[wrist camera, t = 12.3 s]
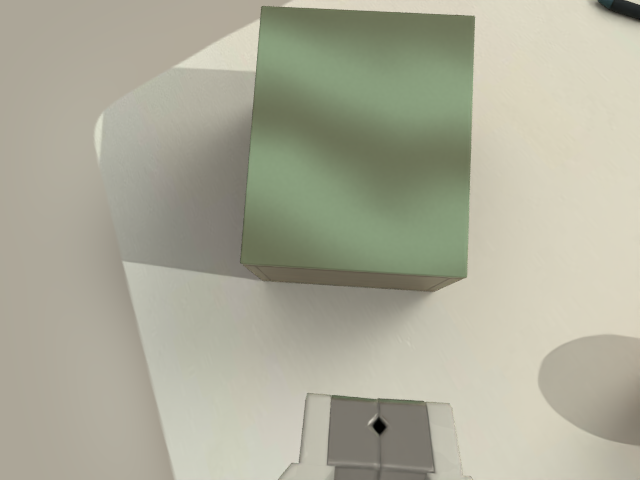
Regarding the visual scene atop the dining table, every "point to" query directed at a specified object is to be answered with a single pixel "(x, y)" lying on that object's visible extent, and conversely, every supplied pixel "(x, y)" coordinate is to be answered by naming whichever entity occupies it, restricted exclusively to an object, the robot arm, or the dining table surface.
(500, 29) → the dining table surface
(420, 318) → the dining table surface
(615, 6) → the pen
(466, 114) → the lid
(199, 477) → the dining table surface
